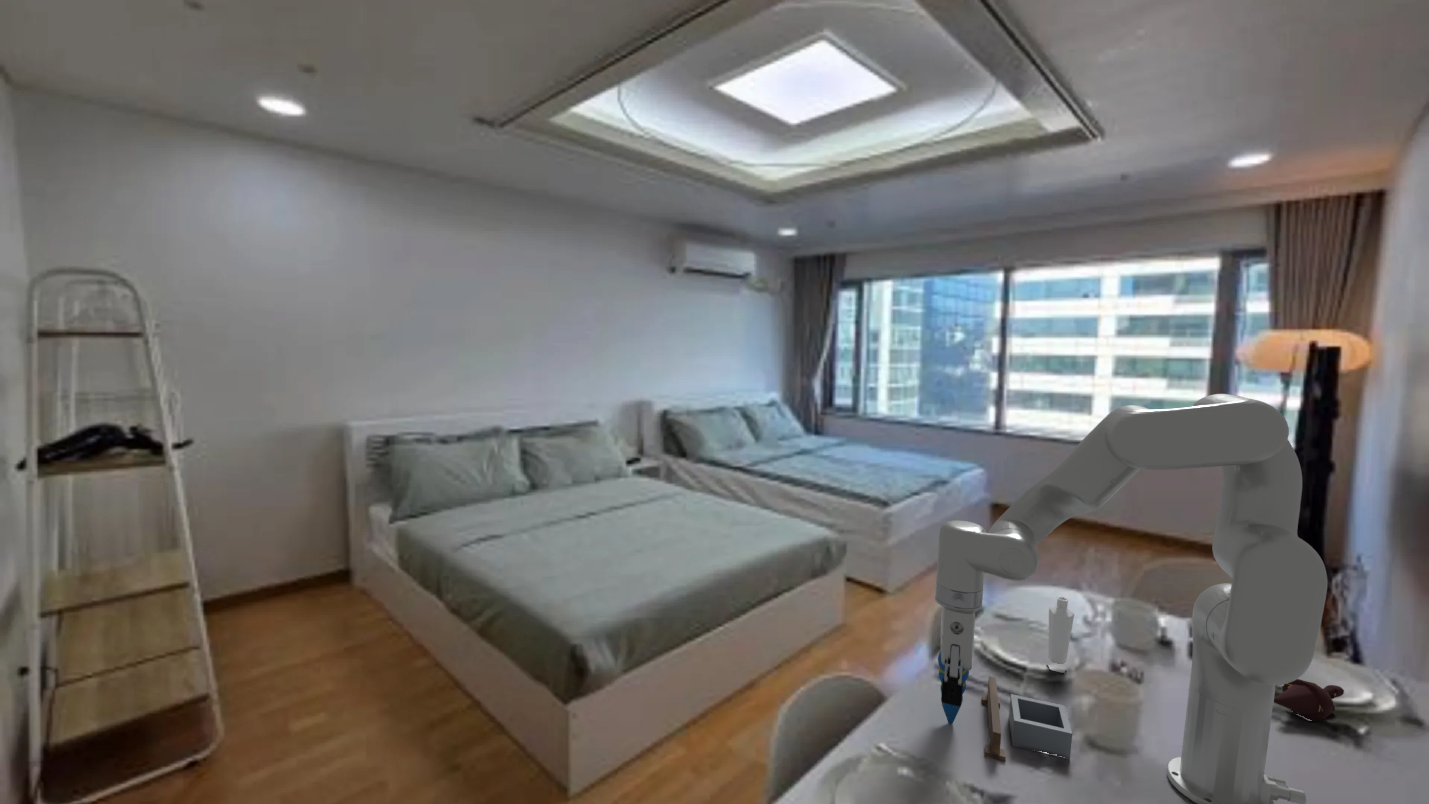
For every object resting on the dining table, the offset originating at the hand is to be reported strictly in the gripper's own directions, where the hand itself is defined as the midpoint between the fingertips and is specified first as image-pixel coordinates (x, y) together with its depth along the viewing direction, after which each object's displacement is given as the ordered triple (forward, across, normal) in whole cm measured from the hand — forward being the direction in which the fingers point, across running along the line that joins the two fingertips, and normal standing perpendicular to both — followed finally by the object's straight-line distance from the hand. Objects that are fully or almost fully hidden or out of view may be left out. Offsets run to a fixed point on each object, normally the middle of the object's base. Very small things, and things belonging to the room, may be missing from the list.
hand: (951, 694), depth 108 cm
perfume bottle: (+6, +29, -20) cm, 36 cm away
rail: (+5, +2, -7) cm, 9 cm away
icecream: (+6, +30, -60) cm, 67 cm away
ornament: (+6, 0, 0) cm, 6 cm away
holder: (+5, +2, -14) cm, 15 cm away
